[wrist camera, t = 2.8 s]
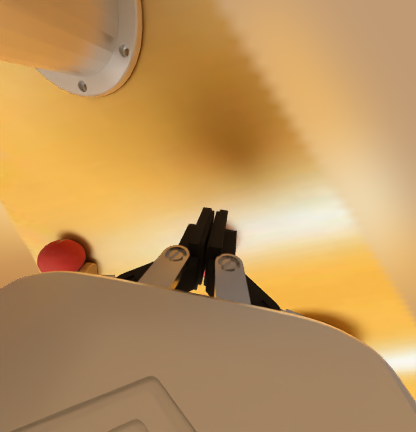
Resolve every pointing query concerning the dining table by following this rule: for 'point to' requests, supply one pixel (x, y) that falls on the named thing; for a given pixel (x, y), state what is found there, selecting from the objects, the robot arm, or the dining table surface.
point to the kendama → (64, 258)
